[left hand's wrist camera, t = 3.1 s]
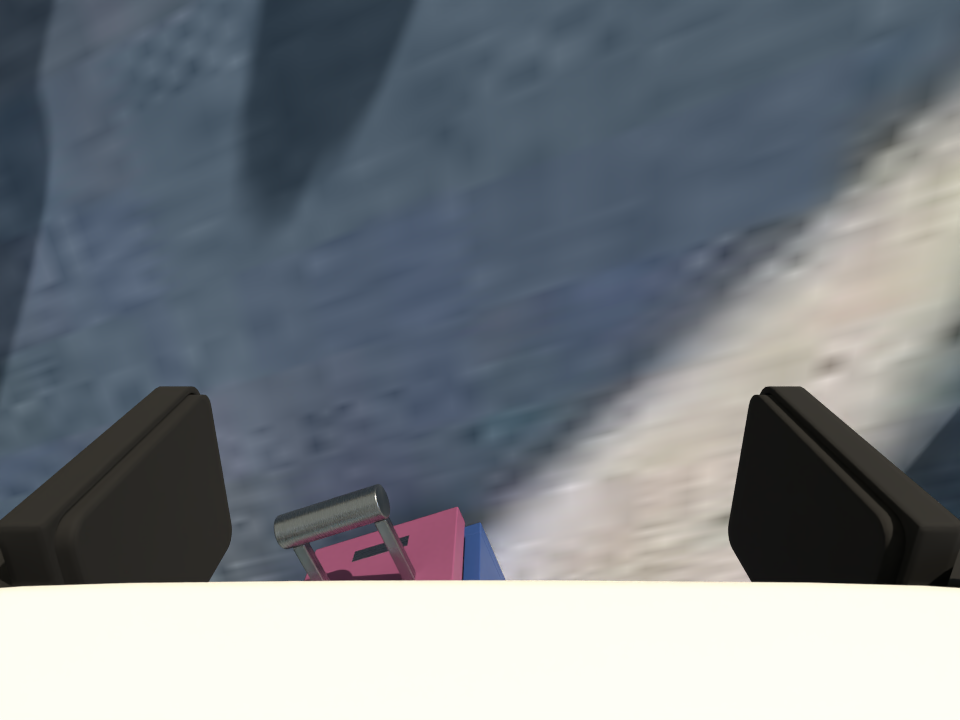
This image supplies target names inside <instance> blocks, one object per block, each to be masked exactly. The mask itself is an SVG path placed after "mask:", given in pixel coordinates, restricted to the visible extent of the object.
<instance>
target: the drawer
mask: <svg viewBox="0 0 960 720" xmlns="http://www.w3.org/2000/svg"><path fill="white" fill-rule="evenodd" d="M389 514H390V505H389V500H388V497H387V494H386V492H385V490H384V488H383V487H382V486H381V485H380V484H376V485H373V486H370V487H367V488H364V489H361V490H357V491H354V492H351V493H348V494H345V495H342V496H338V497H335V498H332V499H329V500H326V501H323V502H320V503H316V504H313V505H310V506H307V507H304V508H301V509H297V510H294V511H291V512H288V513H285V514H282V515H279V516H278V517H277V518H276V519H275V522H274V533H275V537H276V540H277V542H278V544H279V545H280V546H281V547H282V548H284V549H289V548H293V549H294V551H295V553H296V555H297V556H298V558H299V560H300V562H301V563H302V565H303V567H304V569H305V570H306V572H307V575H306V577H305V580H304V581H418V580H463V570H464V560H463V547H464V527H465V522H464V519H463V517H462V515H461V513H460V510H459V508H458V507H455V508H451V509H448V510H445V511H442V512H438V513H435V514H432V515H429V516H425V517H422V518H419V519H416V520H412V521H409V522H406V523H402V524H399V525H396V526H393V525H392V523H391V520H390V518H389ZM374 522H375V525H376V527H377V529H378V531H376V532H373V533H370V534H367V535H363V536H360V537H357V538H354V539H350V540H347V541H344V542H340V543H337V544H334V545H331V546H327V547H324V548H321V549H318V550H316V552H315V553H314V551H313V549H312V547H311V546H310V544H309V542H312V541H315V540H319V539H322V538H325V537H328V536H332V535H335V534H338V533H341V532H344V531H348V530H351V529H354V528H357V527H361V526H364V525H367V524H370V523H374Z"/></svg>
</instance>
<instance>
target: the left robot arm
mask: <svg viewBox="0 0 960 720" xmlns="http://www.w3.org/2000/svg"><path fill="white" fill-rule="evenodd" d="M231 535H232V526H231V519H230V513H229V508H228V502H227V496H226V490H225V484H224V478H223V473H222V467H221V461H220V455H219V449H218V443H217V437H216V432H215V426H214V420H213V414H212V408H211V403H210V400H209V398H208V397H207V396H206V395H200V393H199V391H198V390H197V389H196V388H195V387H158V388H156V389H155V390H154V391H152V392H151V393H150V394H149V395H148V396H147V397H145V398H144V399H143V400H142V401H141V402H139V403H138V404H137V405H136V406H135V407H134V408H132V409H131V410H130V411H129V412H128V413H126V414H125V415H124V416H123V417H122V418H121V419H119V420H118V421H117V422H116V423H115V424H113V425H112V426H111V427H110V428H109V429H108V430H106V431H105V432H104V433H103V434H102V435H100V436H99V437H98V438H97V439H96V440H95V441H93V442H92V443H91V444H90V445H89V446H87V447H86V448H85V449H84V450H83V451H82V452H80V453H79V454H78V455H77V456H76V457H74V458H73V459H72V460H71V461H70V462H69V463H67V464H66V465H65V466H64V467H63V468H61V469H60V470H59V471H58V472H57V473H56V474H54V475H53V476H52V477H51V478H50V479H48V480H47V481H46V482H45V483H44V484H43V485H41V486H40V487H39V488H38V489H37V490H36V491H34V492H33V493H32V494H31V495H30V496H28V497H27V498H26V499H25V500H24V501H23V502H21V503H20V504H19V505H18V506H17V507H15V508H14V509H13V510H12V511H11V512H10V513H8V514H7V515H6V516H5V517H4V518H2V519H1V520H0V720H960V520H959V519H958V518H956V517H955V516H954V515H953V514H952V513H950V512H949V511H948V510H947V509H946V508H945V507H943V506H942V505H941V504H940V503H939V502H937V501H936V500H935V499H934V498H933V497H932V496H930V495H929V494H928V493H927V492H926V491H924V490H923V489H922V488H921V487H920V486H919V485H917V484H916V483H915V482H914V481H913V480H912V479H910V478H909V477H908V476H907V475H906V474H904V473H903V472H902V471H901V470H900V469H899V468H897V467H896V466H895V465H894V464H893V463H891V462H890V461H889V460H888V459H887V458H886V457H884V456H883V455H882V454H881V453H880V452H878V451H877V450H876V449H875V448H874V447H873V446H871V445H870V444H869V443H868V442H867V441H865V440H864V439H863V438H862V437H861V436H860V435H858V434H857V433H856V432H855V431H854V430H852V429H851V428H850V427H849V426H848V425H847V424H845V423H844V422H843V421H842V420H841V419H839V418H838V417H837V416H836V415H835V414H834V413H832V412H831V411H830V410H829V409H828V408H826V407H825V406H824V405H823V404H822V403H821V402H819V401H818V400H817V399H816V398H815V397H813V396H812V395H811V394H810V393H809V392H808V391H806V390H805V389H804V388H802V387H765V388H764V389H763V390H762V391H761V393H760V395H754V396H753V397H752V398H751V400H750V403H749V408H748V414H747V420H746V426H745V432H744V437H743V443H742V449H741V455H740V461H739V467H738V472H737V478H736V484H735V490H734V496H733V502H732V508H731V513H730V519H729V526H728V535H729V541H730V544H731V547H732V549H733V551H734V552H735V554H736V556H737V558H738V559H739V561H740V563H741V565H742V566H743V568H744V570H745V571H746V573H747V575H748V577H749V578H750V580H751V582H678V581H561V580H418V581H274V582H209V580H210V578H211V577H212V575H213V573H214V571H215V570H216V568H217V566H218V565H219V563H220V561H221V559H222V558H223V556H224V554H225V552H226V551H227V549H228V547H229V544H230V541H231Z"/></svg>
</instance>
